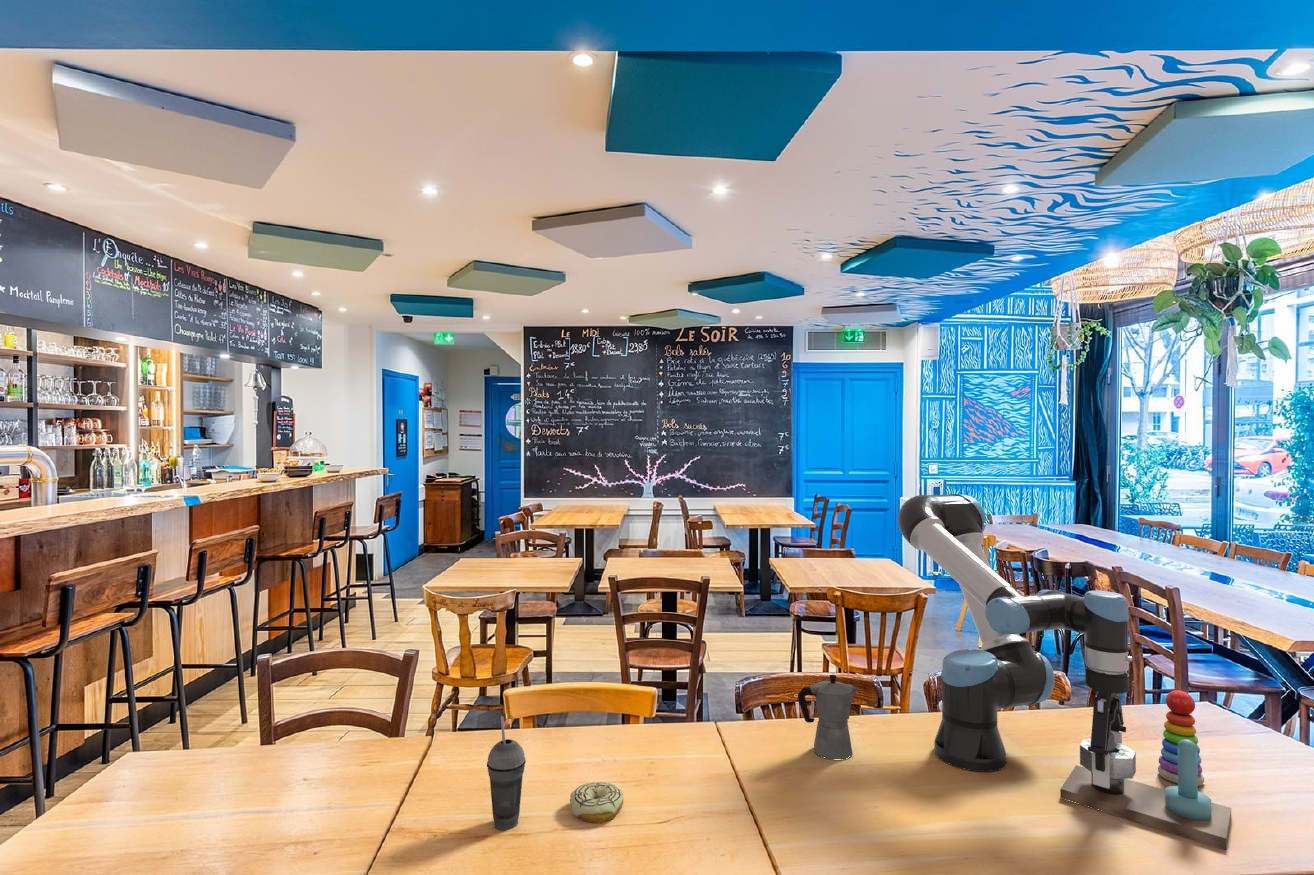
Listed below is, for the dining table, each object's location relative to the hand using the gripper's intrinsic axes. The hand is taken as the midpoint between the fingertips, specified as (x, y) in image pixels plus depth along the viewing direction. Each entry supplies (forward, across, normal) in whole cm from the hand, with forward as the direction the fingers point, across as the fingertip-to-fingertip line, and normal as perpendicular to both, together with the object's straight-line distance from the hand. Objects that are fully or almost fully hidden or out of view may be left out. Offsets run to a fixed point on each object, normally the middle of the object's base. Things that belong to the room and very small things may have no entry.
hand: (1108, 774), depth 140 cm
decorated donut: (+5, -74, +73) cm, 104 cm away
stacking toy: (+5, +20, -10) cm, 23 cm away
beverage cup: (+5, -89, +82) cm, 121 cm away
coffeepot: (+5, -20, +52) cm, 56 cm away
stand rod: (+3, 0, 0) cm, 3 cm away
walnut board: (+5, 0, -6) cm, 8 cm away
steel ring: (-1, 0, 0) cm, 1 cm away
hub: (+3, 0, -13) cm, 13 cm away
